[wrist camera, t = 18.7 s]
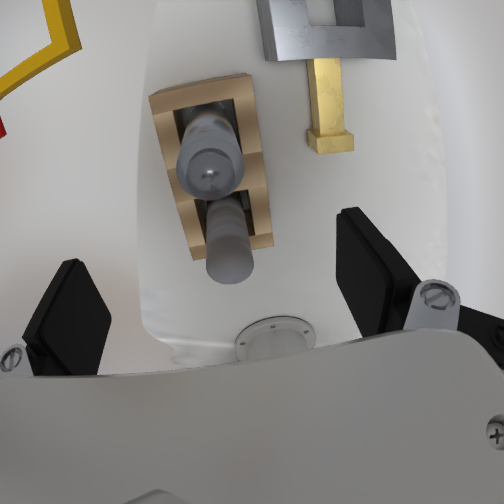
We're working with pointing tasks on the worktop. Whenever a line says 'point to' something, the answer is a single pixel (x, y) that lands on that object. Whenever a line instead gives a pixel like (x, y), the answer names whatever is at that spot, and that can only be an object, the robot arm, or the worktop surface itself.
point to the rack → (230, 207)
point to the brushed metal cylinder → (209, 154)
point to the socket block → (327, 31)
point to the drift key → (327, 107)
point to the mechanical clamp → (60, 48)
